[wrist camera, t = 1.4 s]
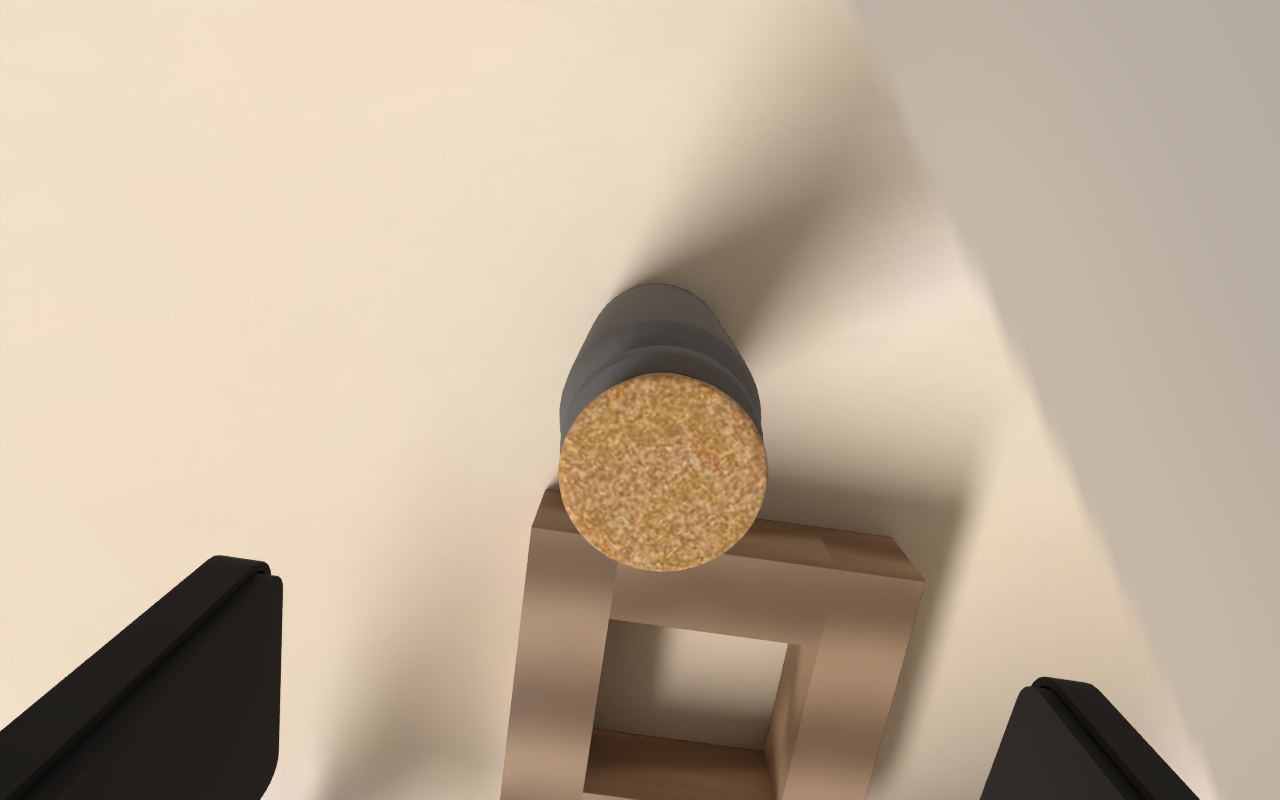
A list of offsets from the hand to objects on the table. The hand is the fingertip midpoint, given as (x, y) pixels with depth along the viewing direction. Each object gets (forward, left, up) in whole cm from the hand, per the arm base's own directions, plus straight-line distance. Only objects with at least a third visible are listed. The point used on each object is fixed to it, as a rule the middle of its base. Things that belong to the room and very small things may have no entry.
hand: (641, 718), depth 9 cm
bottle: (0, 0, -22) cm, 22 cm away
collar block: (+15, +4, -22) cm, 27 cm away
